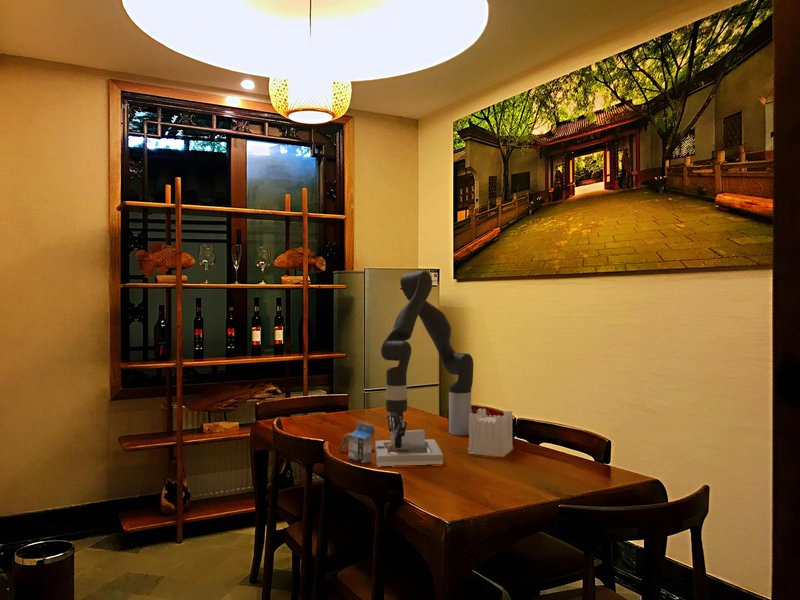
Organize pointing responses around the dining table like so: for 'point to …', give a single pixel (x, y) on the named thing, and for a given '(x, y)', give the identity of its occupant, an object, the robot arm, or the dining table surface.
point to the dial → (408, 442)
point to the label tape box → (360, 444)
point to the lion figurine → (346, 438)
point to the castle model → (490, 434)
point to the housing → (408, 455)
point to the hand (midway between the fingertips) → (396, 446)
